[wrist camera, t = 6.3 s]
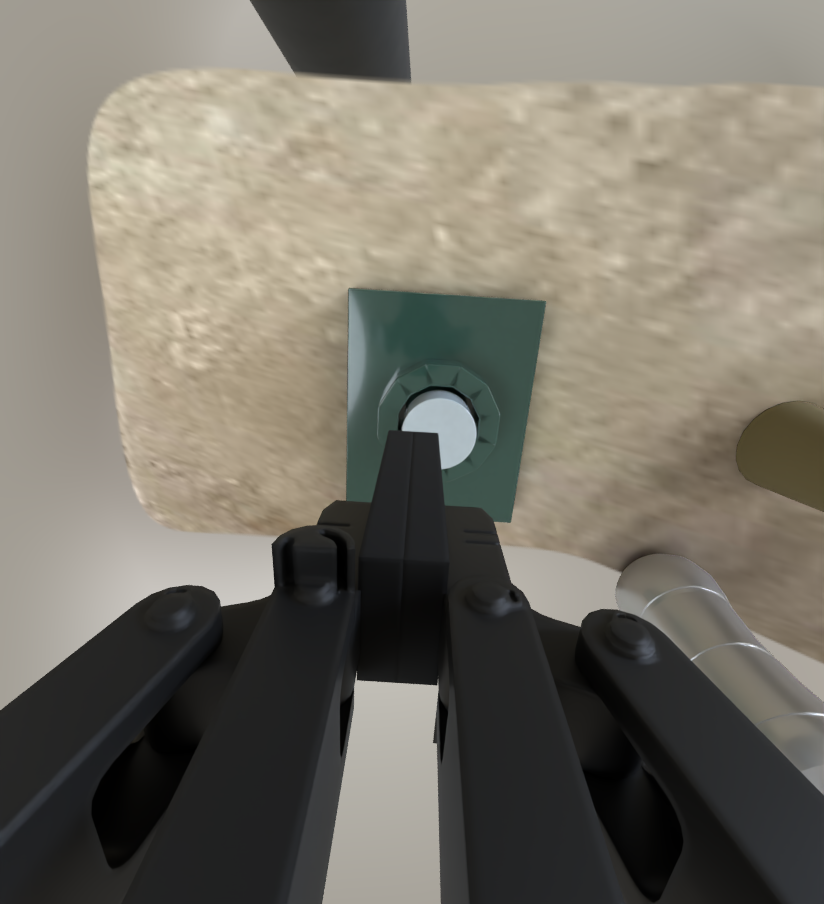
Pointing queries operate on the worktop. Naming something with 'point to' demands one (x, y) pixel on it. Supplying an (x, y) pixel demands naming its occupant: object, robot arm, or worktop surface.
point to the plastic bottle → (727, 654)
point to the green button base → (442, 383)
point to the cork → (786, 452)
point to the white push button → (443, 424)
